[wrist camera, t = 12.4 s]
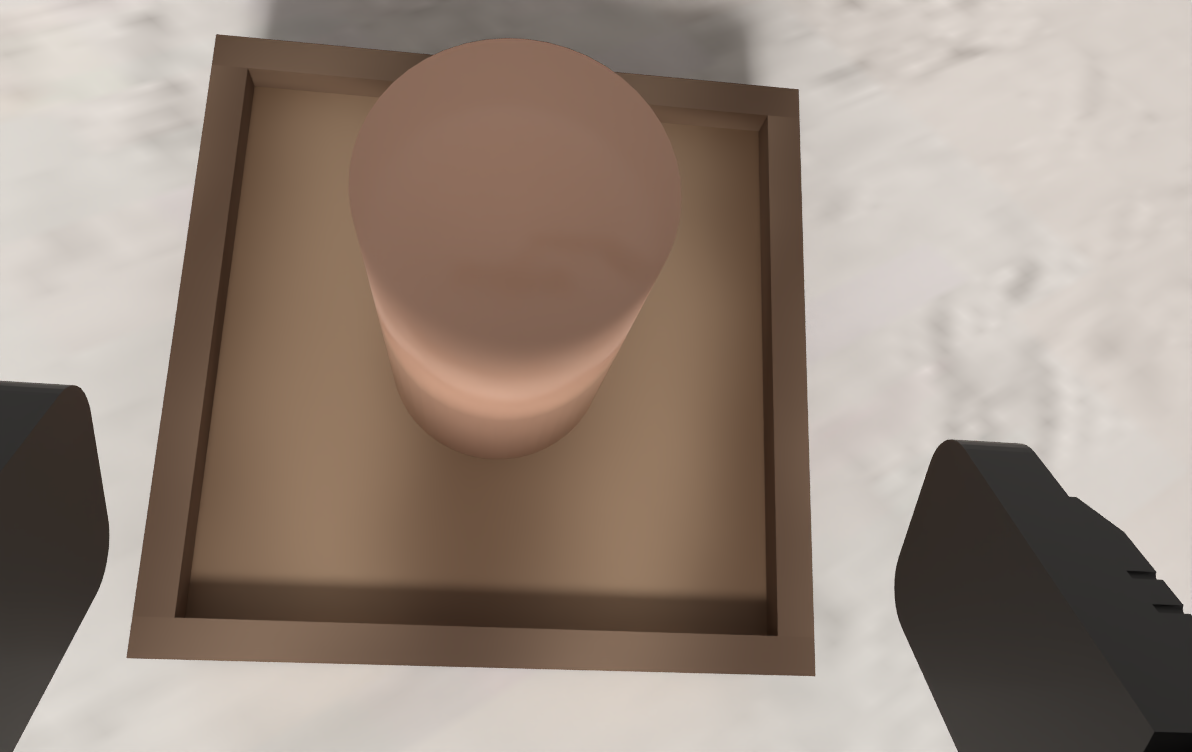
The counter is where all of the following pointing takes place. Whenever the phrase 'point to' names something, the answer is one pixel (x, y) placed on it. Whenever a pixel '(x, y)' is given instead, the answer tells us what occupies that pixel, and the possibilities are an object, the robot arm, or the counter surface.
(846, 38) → the counter surface
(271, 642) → the square brown tray
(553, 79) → the tan cylinder
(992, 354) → the counter surface
